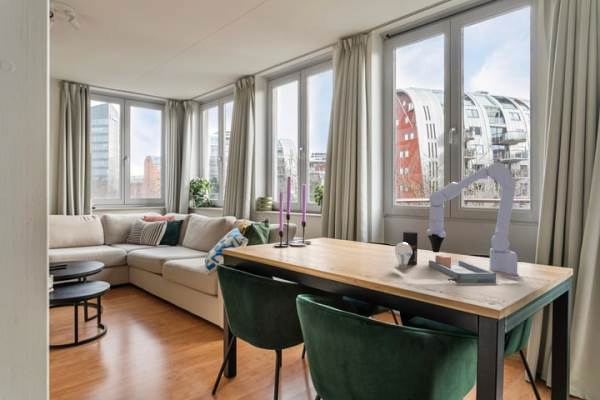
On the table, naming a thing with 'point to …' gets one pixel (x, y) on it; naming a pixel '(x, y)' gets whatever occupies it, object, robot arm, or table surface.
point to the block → (443, 260)
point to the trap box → (466, 273)
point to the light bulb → (403, 254)
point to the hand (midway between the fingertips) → (435, 252)
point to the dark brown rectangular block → (412, 241)
